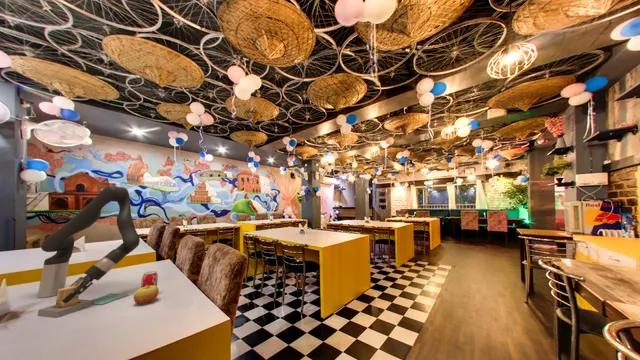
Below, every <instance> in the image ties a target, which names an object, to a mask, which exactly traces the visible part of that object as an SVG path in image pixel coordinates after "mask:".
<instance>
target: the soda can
mask: <svg viewBox="0 0 640 360" xmlns="http://www.w3.org/2000/svg"><path fill="white" fill-rule="evenodd" d="M158 275H159V274H158V271H157V270H152V271H146V272H144V273H143V275H142V277H141V282H140V288H142V287H145V286H157V287H158V279H159V278H158Z"/></svg>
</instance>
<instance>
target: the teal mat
mask: <svg viewBox="0 0 640 360" xmlns="http://www.w3.org/2000/svg"><path fill="white" fill-rule="evenodd" d="M128 296H129V294H128V293H127V294H125V293H112V292H111V293H107V294H104V295H103V296H99V297H95V298H93V299H91V300H92V306H103V305H106V304H110V303H112V302H114V301H118V300H120V299H123V298H126V297H128Z"/></svg>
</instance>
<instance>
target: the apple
mask: <svg viewBox="0 0 640 360" xmlns="http://www.w3.org/2000/svg"><path fill="white" fill-rule="evenodd" d="M159 292H160V291H159V288H158V285H157V286H145V287H142V288H141V287H139V288H138V289H137V290H136V291H135V292H134V295H133V300H134V302H135V304H137V305H147V304H150V303H151V302H154V301H155V300H156V299H157V297H158V296H159Z"/></svg>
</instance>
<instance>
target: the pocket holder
mask: <svg viewBox="0 0 640 360" xmlns="http://www.w3.org/2000/svg"><path fill="white" fill-rule="evenodd" d="M92 300H93V299H82V298H81V299H80V298H78V304H75V305H72V306H69V307H66V308H62V309H61V308H55V306H56V304H52V305H49V306H47V307H44V308H40V309H38V312H37V317H45V318H46V317H47V318H62V317H63V316H66V315H69V314H72V313H75V312H77V311H79V310H80V311H81V310H83V309H85V308H89V307H92V306H93V305H92Z"/></svg>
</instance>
